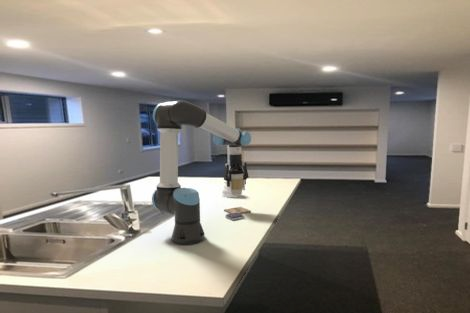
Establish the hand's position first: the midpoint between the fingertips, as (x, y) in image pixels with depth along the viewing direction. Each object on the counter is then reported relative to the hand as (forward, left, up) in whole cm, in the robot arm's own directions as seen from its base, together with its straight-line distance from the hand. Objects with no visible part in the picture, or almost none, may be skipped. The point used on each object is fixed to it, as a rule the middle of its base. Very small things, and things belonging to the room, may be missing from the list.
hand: (236, 190), depth 194 cm
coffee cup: (0, 0, -2) cm, 3 cm away
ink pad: (-8, -11, -13) cm, 19 cm away
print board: (0, 0, -13) cm, 13 cm away
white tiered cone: (+18, +42, -13) cm, 47 cm away
